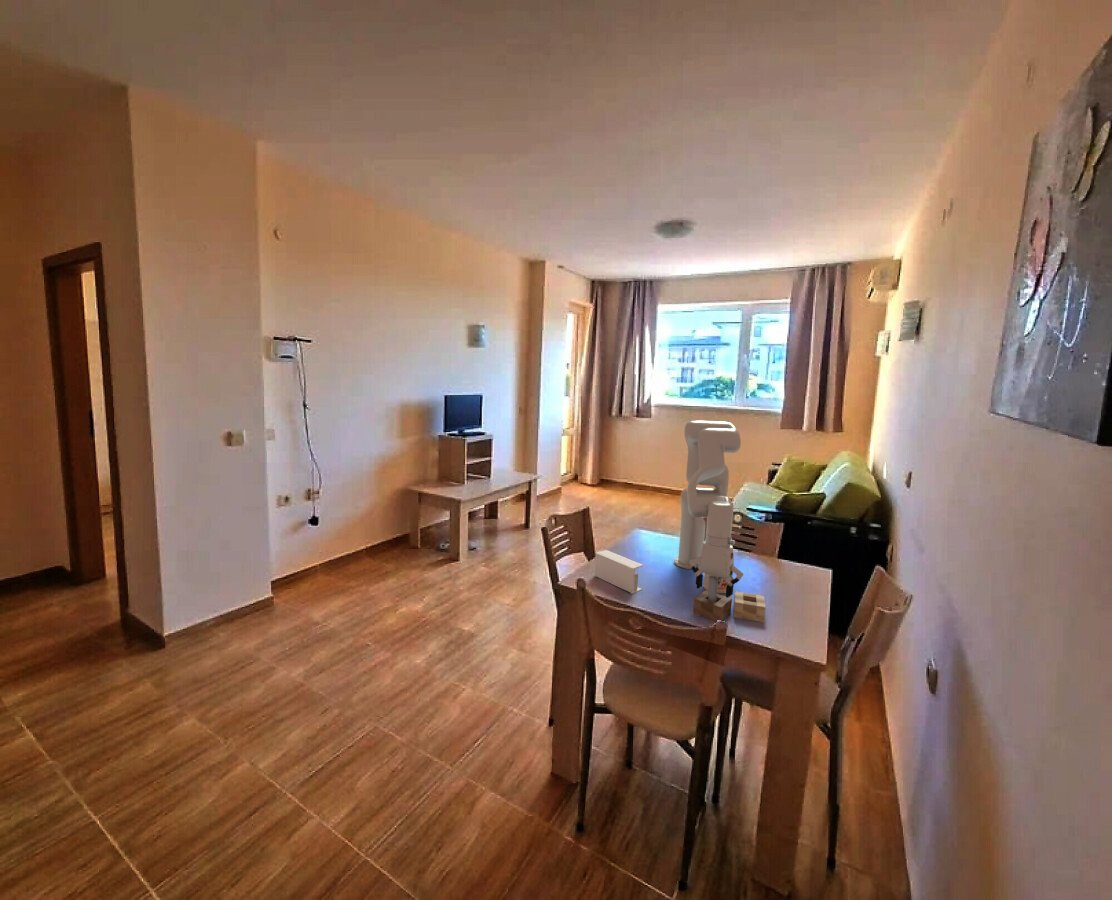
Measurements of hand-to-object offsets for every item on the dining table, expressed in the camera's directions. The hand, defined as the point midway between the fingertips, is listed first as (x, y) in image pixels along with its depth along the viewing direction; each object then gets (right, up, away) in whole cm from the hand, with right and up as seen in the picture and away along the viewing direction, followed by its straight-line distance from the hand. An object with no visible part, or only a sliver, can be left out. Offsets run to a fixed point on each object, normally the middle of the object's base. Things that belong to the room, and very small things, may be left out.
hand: (713, 591), depth 164 cm
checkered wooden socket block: (+12, -8, +2) cm, 14 cm away
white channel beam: (-28, -3, +23) cm, 37 cm away
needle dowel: (0, -7, +1) cm, 7 cm away
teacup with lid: (+8, -5, +21) cm, 23 cm away
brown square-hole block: (0, -7, +1) cm, 7 cm away
